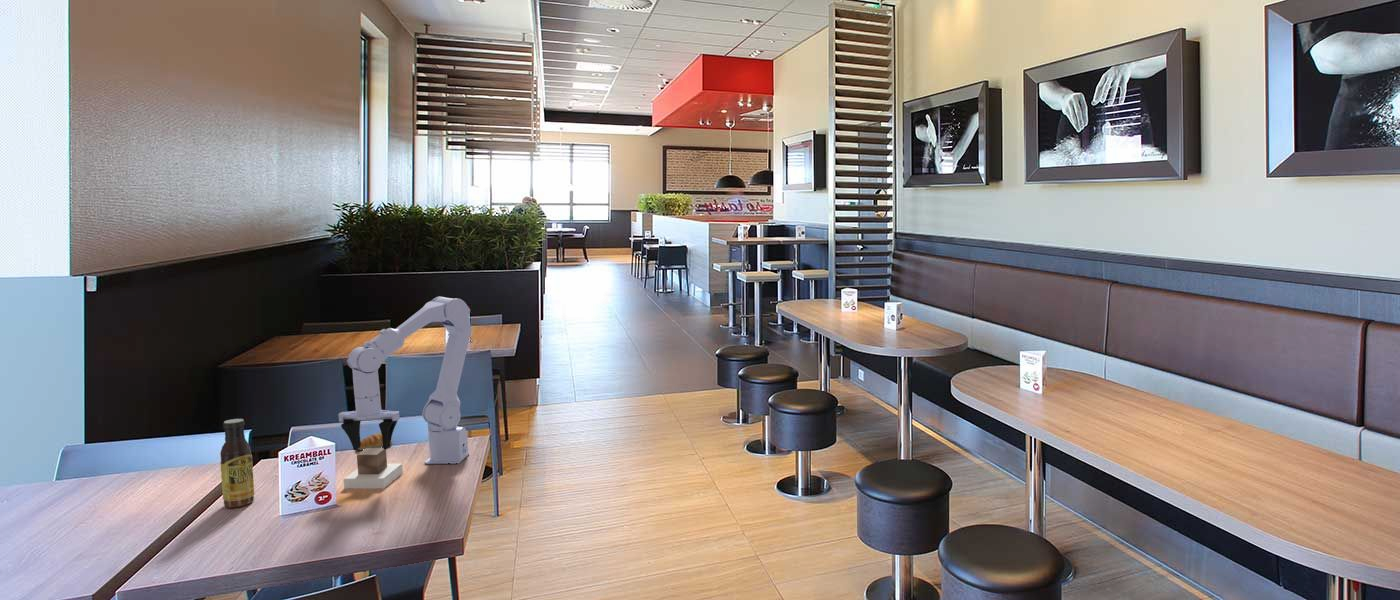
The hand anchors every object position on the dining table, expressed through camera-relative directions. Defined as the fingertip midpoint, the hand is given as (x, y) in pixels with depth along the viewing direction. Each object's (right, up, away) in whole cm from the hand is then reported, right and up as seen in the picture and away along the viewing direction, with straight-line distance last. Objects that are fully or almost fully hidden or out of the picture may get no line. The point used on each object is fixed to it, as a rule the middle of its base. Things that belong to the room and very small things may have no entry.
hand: (371, 448), depth 180 cm
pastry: (-11, -6, +27) cm, 30 cm away
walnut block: (0, -6, +1) cm, 6 cm away
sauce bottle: (-25, -11, -12) cm, 30 cm away
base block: (0, -9, +1) cm, 9 cm away
